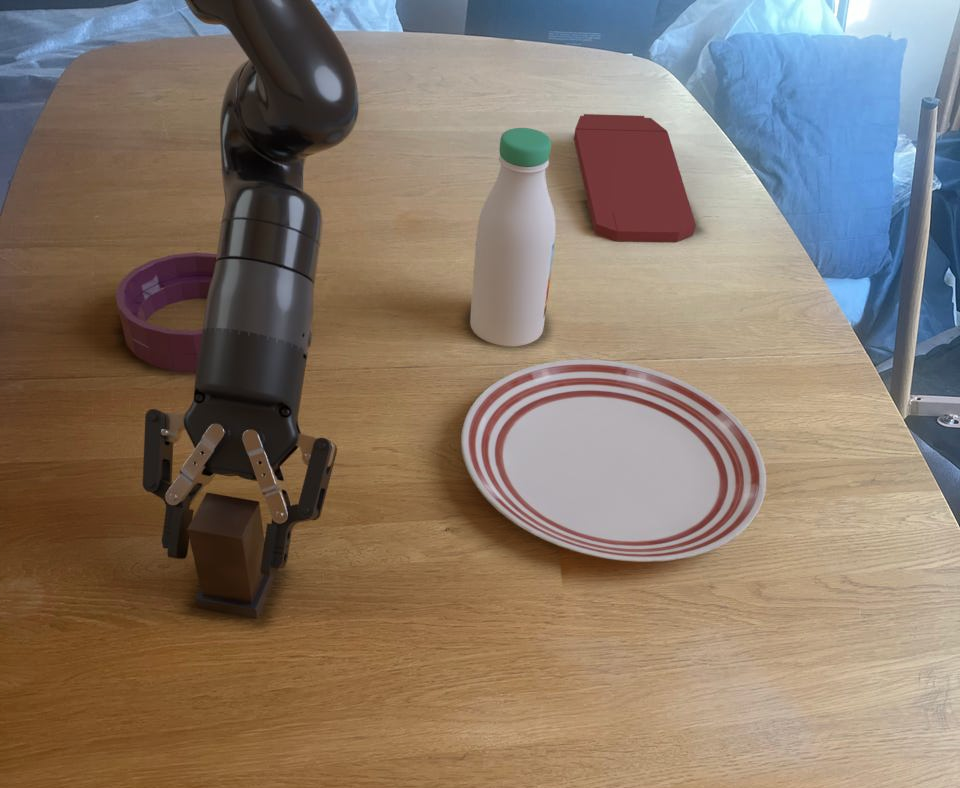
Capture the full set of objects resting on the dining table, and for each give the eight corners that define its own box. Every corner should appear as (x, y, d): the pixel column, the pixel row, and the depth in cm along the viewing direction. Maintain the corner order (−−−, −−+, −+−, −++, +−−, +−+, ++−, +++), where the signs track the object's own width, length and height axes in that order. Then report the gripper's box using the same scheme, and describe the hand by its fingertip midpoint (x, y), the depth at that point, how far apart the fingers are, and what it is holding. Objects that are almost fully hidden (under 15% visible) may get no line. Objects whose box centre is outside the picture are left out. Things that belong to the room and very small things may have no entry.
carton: (687, 267, 122) (652, 143, 135) (698, 232, 118) (660, 108, 131) (591, 266, 121) (564, 141, 133) (598, 231, 117) (570, 105, 129)
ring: (111, 375, 95) (100, 329, 91) (143, 293, 104) (134, 248, 101) (263, 383, 96) (258, 338, 92) (281, 301, 105) (277, 257, 101)
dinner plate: (704, 378, 102) (712, 350, 99) (803, 571, 85) (816, 544, 82) (438, 390, 97) (440, 361, 95) (487, 597, 80) (491, 569, 78)
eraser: (198, 615, 77) (179, 531, 70) (219, 571, 80) (203, 487, 73) (258, 626, 77) (245, 543, 70) (277, 581, 80) (266, 498, 73)
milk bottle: (537, 358, 102) (563, 162, 86) (463, 346, 102) (476, 149, 87) (547, 317, 107) (573, 125, 91) (476, 306, 107) (491, 112, 92)
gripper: (138, 309, 68) (106, 549, 70) (342, 342, 68) (305, 584, 69) (179, 334, 76) (149, 550, 77) (363, 363, 75) (329, 582, 77)
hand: (223, 565), depth 73 cm, fingers open, 6 cm apart
